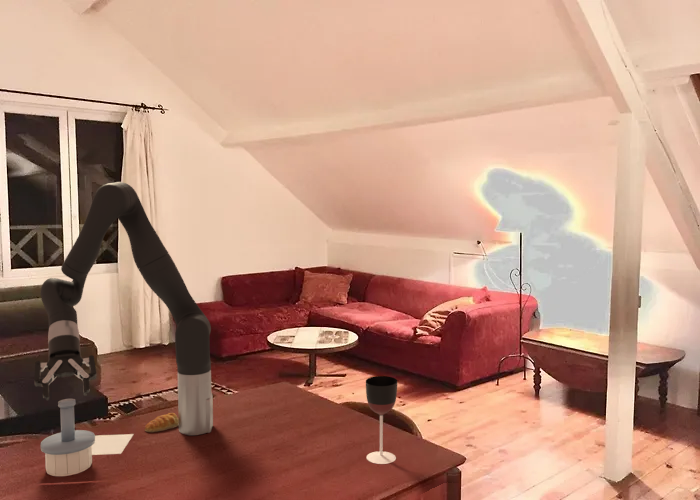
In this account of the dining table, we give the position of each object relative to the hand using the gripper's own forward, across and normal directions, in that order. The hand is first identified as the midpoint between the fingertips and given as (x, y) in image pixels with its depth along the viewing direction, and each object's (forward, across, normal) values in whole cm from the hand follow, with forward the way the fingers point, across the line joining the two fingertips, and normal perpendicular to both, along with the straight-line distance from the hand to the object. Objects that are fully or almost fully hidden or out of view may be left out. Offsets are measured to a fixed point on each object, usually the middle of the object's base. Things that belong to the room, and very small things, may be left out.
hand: (66, 396), depth 148 cm
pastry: (+4, +25, +20) cm, 32 cm away
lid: (+11, 0, +4) cm, 12 cm away
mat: (+8, +8, +16) cm, 19 cm away
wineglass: (+36, +71, -12) cm, 81 cm away
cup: (+15, 0, +8) cm, 17 cm away
